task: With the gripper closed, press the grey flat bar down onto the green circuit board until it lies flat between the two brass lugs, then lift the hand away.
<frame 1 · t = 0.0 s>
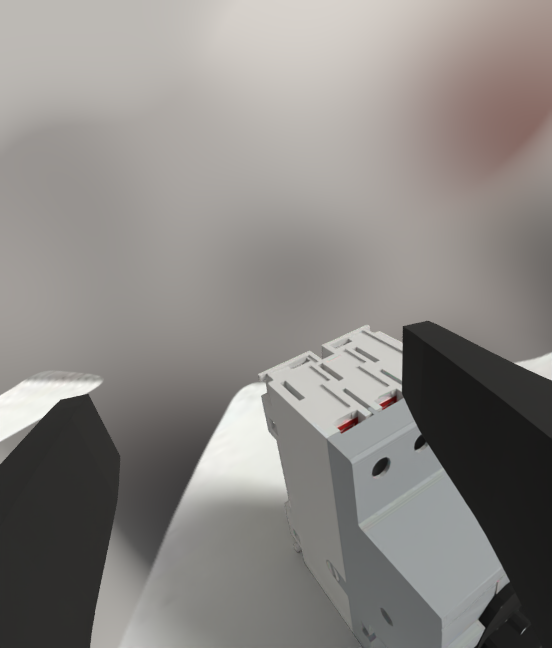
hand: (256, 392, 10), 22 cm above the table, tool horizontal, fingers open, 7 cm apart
circuit breaker: (409, 605, 25), on the table
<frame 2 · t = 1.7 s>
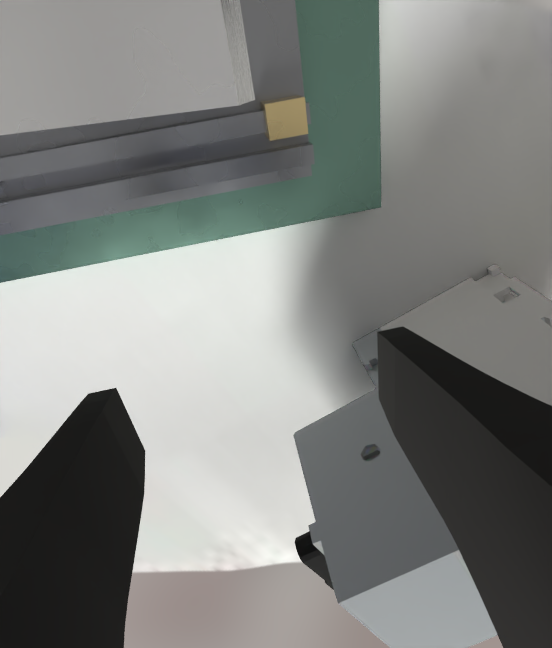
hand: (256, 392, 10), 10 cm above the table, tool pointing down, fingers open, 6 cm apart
grey flat bar: (26, 68, 9), point 6 cm above the table, hinge at 32.0°
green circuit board: (115, 63, 15), on the table
circuit breaker: (392, 376, 24), on the table
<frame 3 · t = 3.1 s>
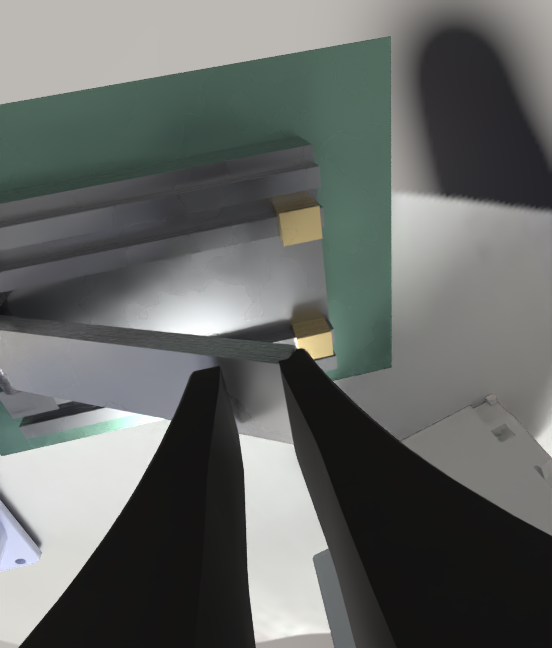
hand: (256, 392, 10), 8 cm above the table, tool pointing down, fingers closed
grey flat bar: (116, 369, 12), point 6 cm above the table, hinge at 30.7°, touching gripper
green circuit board: (162, 273, 17), on the table
circuit breaker: (399, 482, 27), on the table
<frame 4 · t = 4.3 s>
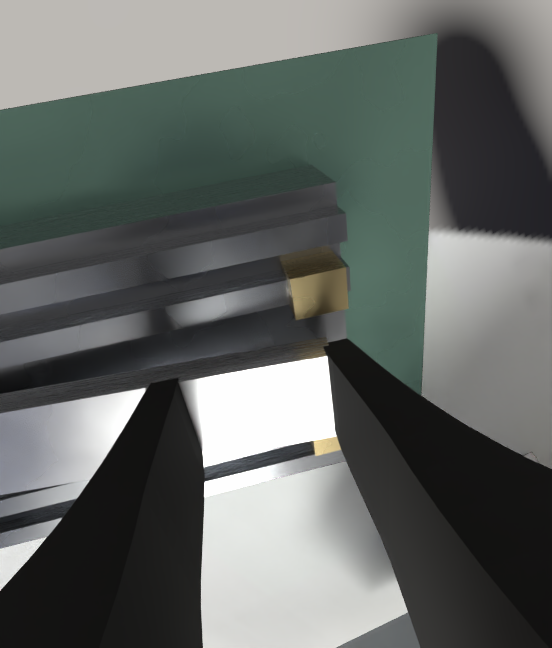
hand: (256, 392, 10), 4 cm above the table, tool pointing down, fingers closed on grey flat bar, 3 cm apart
grey flat bar: (109, 427, 10), point 4 cm above the table, hinge at 5.2°, touching gripper
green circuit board: (137, 333, 13), on the table
circuit breaker: (420, 548, 23), on the table
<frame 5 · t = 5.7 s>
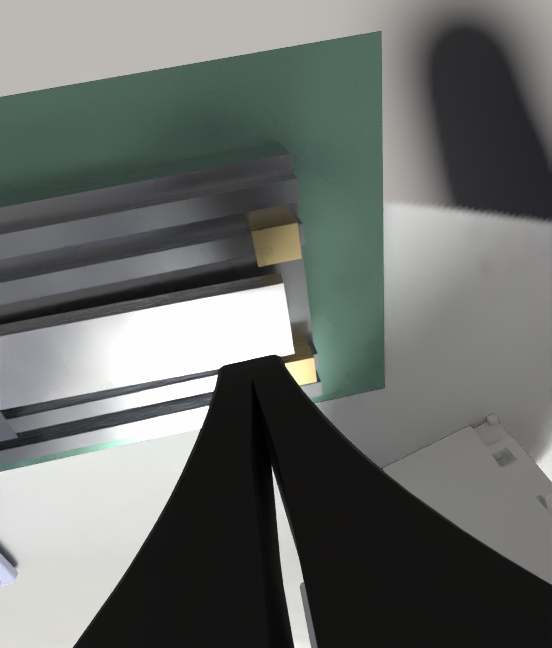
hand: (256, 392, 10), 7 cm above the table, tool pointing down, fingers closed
grey flat bar: (110, 347, 12), point 4 cm above the table, hinge at 1.7°
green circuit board: (135, 288, 15), on the table
circuit breaker: (394, 503, 25), on the table
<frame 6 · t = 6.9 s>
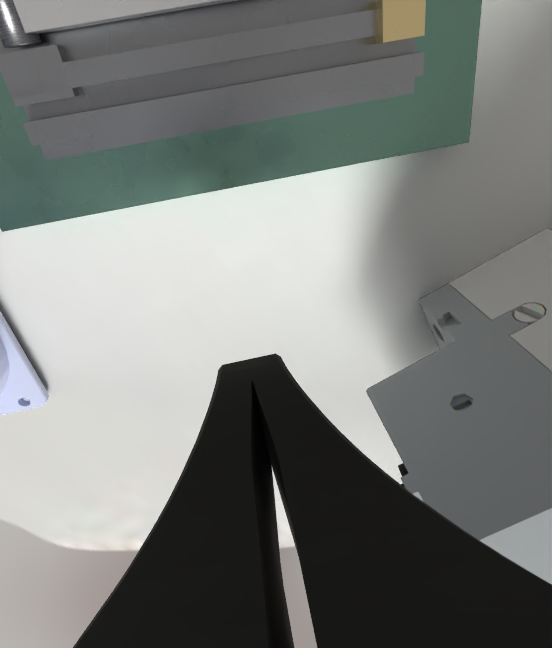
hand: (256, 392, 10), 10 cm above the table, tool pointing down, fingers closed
circuit breaker: (455, 338, 23), on the table
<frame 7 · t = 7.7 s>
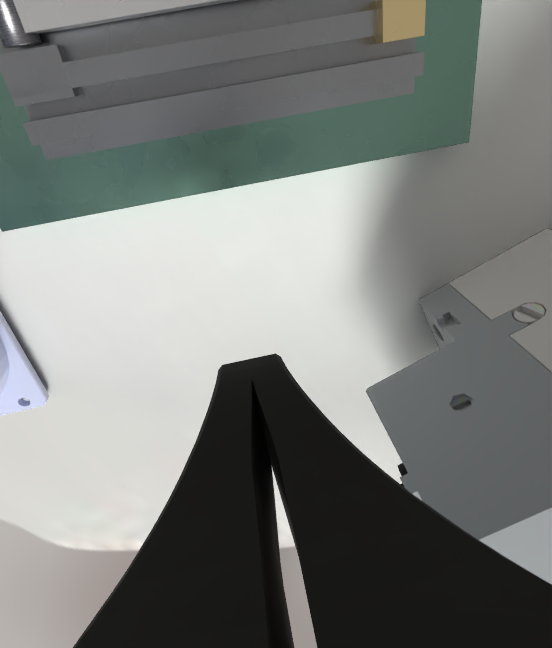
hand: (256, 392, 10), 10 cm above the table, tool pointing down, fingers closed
circuit breaker: (455, 338, 23), on the table
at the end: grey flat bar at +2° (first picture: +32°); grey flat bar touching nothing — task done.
